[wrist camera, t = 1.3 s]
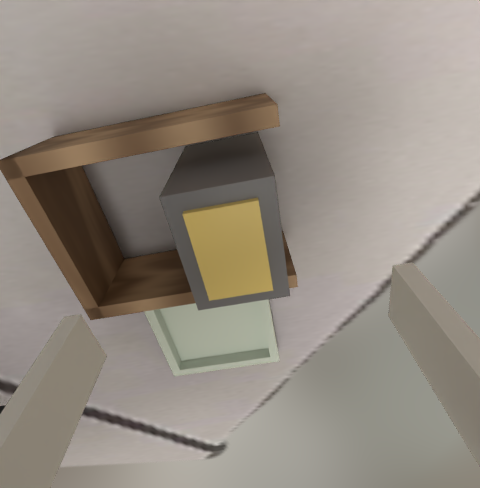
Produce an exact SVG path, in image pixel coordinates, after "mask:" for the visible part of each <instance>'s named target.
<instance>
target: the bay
mask: <svg viewBox="0 0 480 488" xmlns="http://www.w3.org/2000/svg"><path fill="white" fill-rule="evenodd" d="M279 126H280V124H279V115H278V106H277V104H276V103H275V102H274V101H273V100H272V99H271V98H270V97H269V96H268V95H267V94H266V93H264V94H259V95H254V96H249V97H244V98H240V99H235V100H230V101H225V102H220V103H215V104H211V105H206V106H201V107H196V108H191V109H186V110H182V111H177V112H172V113H167V114H162V115H157V116H153V117H148V118H143V119H138V120H133V121H129V122H124V123H119V124H114V125H109V126H104V127H100V128H95V129H90V130H85V131H80V132H75V133H71V134H66V135H61V136H56V137H52V138H50V139H47V140H45V141H43V142H40V143H38V144H36V145H33V146H31V147H29V148H26V149H24V150H22V151H19V152H17V153H15V154H12V155H10V156H8V157H5V158H3V159H1V160H0V170H1V172H2V173H3V175H4V177H5V178H6V180H7V182H8V183H9V185H10V187H11V188H12V190H13V192H14V193H15V195H16V197H17V198H18V200H19V202H20V203H21V205H22V207H23V208H24V210H25V212H26V213H27V215H28V217H29V218H30V220H31V222H32V223H33V225H34V227H35V228H36V230H37V232H38V233H39V235H40V237H41V238H42V240H43V242H44V243H45V245H46V247H47V248H48V250H49V251H50V253H51V255H52V256H53V258H54V260H55V261H56V263H57V265H58V266H59V268H60V270H61V271H62V273H63V275H64V276H65V278H66V280H67V281H68V283H69V285H70V286H71V288H72V290H73V291H74V293H75V295H76V296H77V298H78V300H79V301H80V303H81V305H82V306H83V308H84V310H85V311H86V313H87V315H88V316H89V318H90V320H94V319H101V318H107V317H113V316H119V315H125V314H132V313H138V312H144V311H150V310H157V309H163V308H169V307H175V306H181V305H188V304H194V303H196V302H195V300H194V297H193V294H192V291H191V288H190V285H189V282H188V279H187V276H186V273H185V271H184V268H183V265H182V262H181V259H180V256H179V253H178V250H173V251H167V252H161V253H156V254H150V255H144V256H138V257H133V258H127V259H124V257H123V255H122V253H121V251H120V248H119V246H118V244H117V242H116V240H115V238H114V235H113V233H112V231H111V229H110V227H109V224H108V222H107V220H106V218H105V216H104V214H103V211H102V209H101V207H100V205H99V203H98V200H97V198H96V196H95V194H94V192H93V189H92V187H91V185H90V183H89V181H88V179H87V176H86V174H85V172H84V170H83V168H82V165H87V164H92V163H97V162H102V161H107V160H113V159H118V158H123V157H128V156H133V155H138V154H143V153H148V152H153V151H158V150H163V149H168V148H173V147H178V146H183V145H188V144H193V143H198V142H203V141H208V140H213V139H218V138H223V137H228V136H233V135H238V134H243V133H248V132H253V131H259V130H264V129H269V128H274V127H279ZM282 237H283V245H284V252H285V260H286V268H287V275H288V283H289V288H293V287H298V285H297V276H296V272H295V269H294V266H293V262H292V259H291V256H290V253H289V249H288V246H287V243H286V240H285V236H284V233H283V231H282Z"/></svg>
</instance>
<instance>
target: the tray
mask: <svg viewBox="0 0 480 488" xmlns="http://www.w3.org/2000/svg"><path fill="white" fill-rule="evenodd" d="M144 313H145V315H146V317H147V319H148V321H149V324H150V326H151V328H152V330H153V332H154V334H155V336H156V339H157V341H158V343H159V345H160V347H161V349H162V351H163V353H164V356H165V358H166V360H167V362H168V364H169V366H170V368H171V371H172V373H173V375H174V376H181V375H188V374H195V373H202V372H209V371H216V370H223V369H230V368H237V367H244V366H251V365H258V364H265V363H272V362H278V361H279V354H278V348H277V343H276V337H275V332H274V326H273V320H272V315H271V309H270V304H269V299H268V300H261V301H255V302H249V303H242V304H236V305H230V306H224V307H217V308H211V309H205V310H198V308H197V305H196V303H194V304H188V305H181V306H175V307H169V308H163V309H157V310H150V311H144Z"/></svg>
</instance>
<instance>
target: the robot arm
mask: <svg viewBox="0 0 480 488" xmlns="http://www.w3.org/2000/svg"><path fill="white" fill-rule="evenodd" d="M388 316H389V318H390V319H391V321H392V323H393V324H394V326H395V328H396V329H397V331H398V333H399V334H400V336H401V338H402V339H403V341H404V343H405V344H406V346H407V348H408V349H409V351H410V353H411V354H412V356H413V358H414V359H415V361H416V362H417V364H418V366H419V367H420V369H421V371H422V372H423V374H424V376H425V377H426V379H427V381H428V382H429V384H430V386H431V387H432V389H433V391H434V392H435V394H436V395H437V397H438V399H439V400H440V402H441V403H442V405H443V407H444V409H445V410H446V412H447V414H448V415H449V417H450V419H451V420H452V422H453V424H454V425H455V427H456V429H457V430H458V432H459V433H460V435H461V437H462V438H463V440H464V442H465V443H466V445H467V447H468V449H469V450H470V452H471V453H472V455H473V457H474V458H475V460H476V462H477V463H478V465H479V467H480V338H479V337H478V336H477V335H476V334H475V333H474V331H473V330H472V329H471V328H470V327H469V326H468V325H467V324H466V322H465V321H464V320H463V319H462V318H461V317H460V316H459V314H458V313H457V312H456V311H455V310H454V309H453V308H452V307H451V305H450V304H449V303H448V302H447V301H446V300H445V299H444V297H443V296H442V295H441V294H440V293H439V292H438V291H437V290H436V288H435V287H434V286H433V285H432V284H431V283H430V282H429V281H428V279H427V278H426V277H425V276H424V275H423V274H422V273H421V271H420V270H419V269H418V268H417V267H416V266H415V265H414V264H413V263H407V264H400V265H394V266H393V269H392V280H391V291H390V303H389V314H388ZM106 357H107V356H106V354H105V353H104V351H103V349H102V348H101V346H100V344H99V343H98V341H97V340H96V338H95V336H94V335H93V333H92V332H91V330H90V328H89V327H88V325H87V323H86V322H85V320H84V319H83V317H82V315H81V314H80V315H73V316H67V317H64V318H63V319H62V321H61V323H60V324H59V326H58V327H57V329H56V330H55V332H54V333H53V335H52V336H51V338H50V339H49V341H48V342H47V344H46V345H45V347H44V348H43V350H42V351H41V353H40V354H39V356H38V358H37V359H36V361H35V362H34V364H33V365H32V367H31V368H30V370H29V371H28V373H27V374H26V376H25V377H24V379H23V380H22V382H21V383H20V385H19V386H18V388H17V389H16V391H15V392H14V394H13V396H12V397H11V399H10V400H9V402H8V403H7V405H5V406H0V488H51V485H52V483H53V481H54V479H55V476H56V474H57V472H58V469H59V467H60V465H61V462H62V460H63V458H64V455H65V453H66V451H67V448H68V446H69V444H70V441H71V439H72V437H73V434H74V432H75V429H76V427H77V425H78V422H79V420H80V418H81V415H82V413H83V411H84V408H85V406H86V404H87V401H88V399H89V397H90V394H91V392H92V390H93V387H94V385H95V383H96V380H97V378H98V376H99V373H100V371H101V369H102V366H103V364H104V362H105V359H106Z"/></svg>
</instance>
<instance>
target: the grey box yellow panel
mask: <svg viewBox="0 0 480 488" xmlns="http://www.w3.org/2000/svg"><path fill="white" fill-rule="evenodd" d="M159 198H160V201H161V204H162V207H163V209H164V212H165V215H166V218H167V221H168V224H169V227H170V230H171V233H172V236H173V239H174V241H175V244H176V247H177V250H178V253H179V256H180V259H181V262H182V265H183V268H184V271H185V273H186V276H187V279H188V282H189V285H190V288H191V291H192V294H193V297H194V300H195V302H196V305H197V308H198V310H205V309H211V308H217V307H224V306H230V305H236V304H242V303H249V302H255V301H261V300H268V299H274V298H280V297H286V296H290V291H289V283H288V275H287V268H286V260H285V252H284V245H283V237H282V229H281V222H280V214H279V206H278V199H277V191H276V183H275V176H274V173H273V170H272V168H271V165H270V163H269V160H268V158H267V155H266V152H265V150H264V147H263V145H262V142H261V139H260V137H259V134H258V132H255V133H250V134H245V135H240V136H235V137H230V138H225V139H220V140H215V141H210V142H205V143H200V144H195V145H190V146H186V147H185V149H184V151H183V153H182V155H181V156H180V158H179V160H178V162H177V164H176V166H175V168H174V170H173V172H172V174H171V176H170V178H169V180H168V182H167V183H166V185H165V187H164V189H163V191H162V193H161V195H160V197H159Z"/></svg>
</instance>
